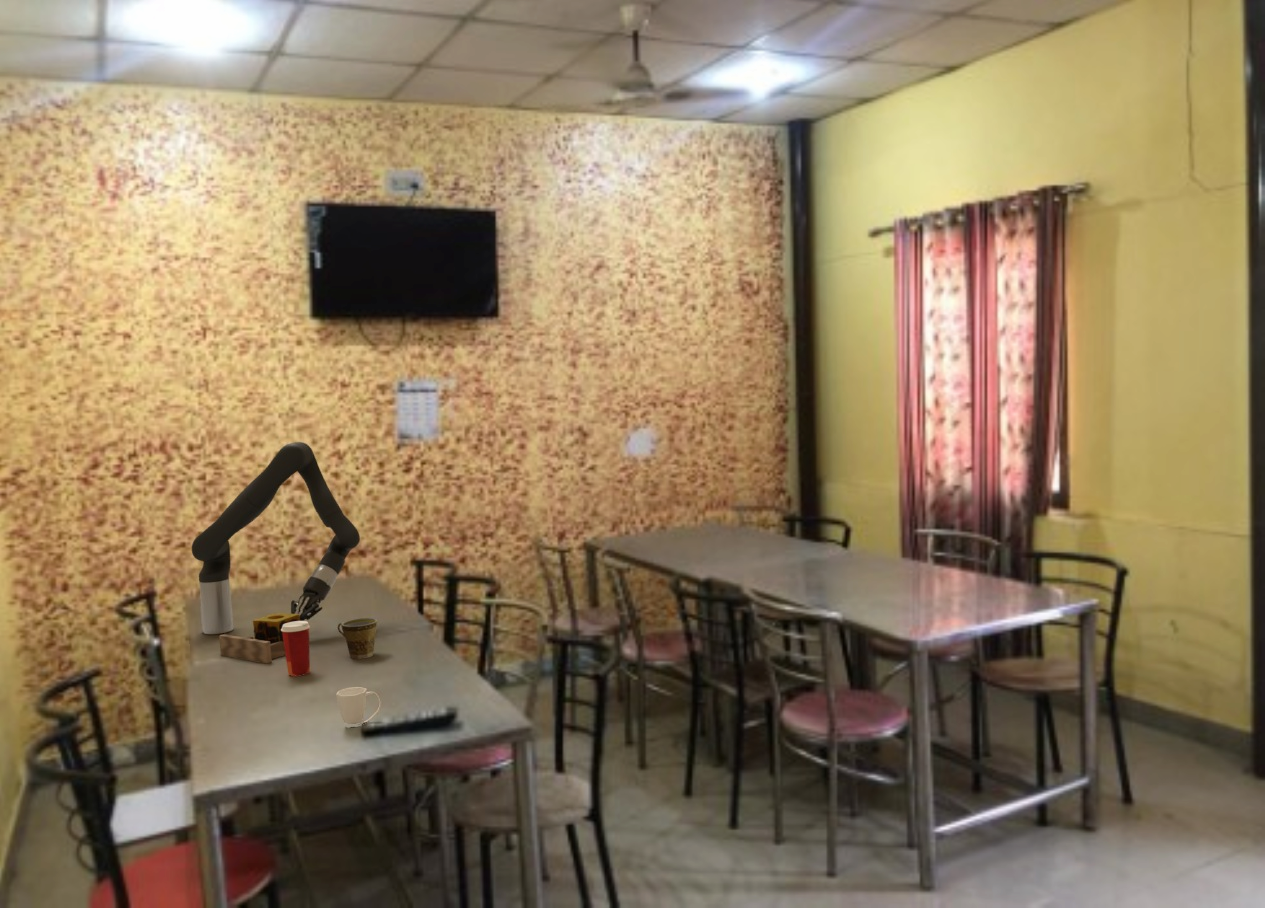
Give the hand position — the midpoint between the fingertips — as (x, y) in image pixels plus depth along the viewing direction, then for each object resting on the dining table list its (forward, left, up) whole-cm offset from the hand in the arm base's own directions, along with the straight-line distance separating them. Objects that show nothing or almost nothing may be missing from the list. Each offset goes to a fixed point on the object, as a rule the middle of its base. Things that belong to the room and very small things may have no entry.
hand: (292, 629), depth 319 cm
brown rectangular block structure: (0, -13, -5) cm, 14 cm away
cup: (+79, -43, -5) cm, 90 cm away
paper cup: (+29, -21, -5) cm, 36 cm away
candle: (0, -6, -5) cm, 8 cm away
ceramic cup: (+30, -1, -5) cm, 30 cm away
